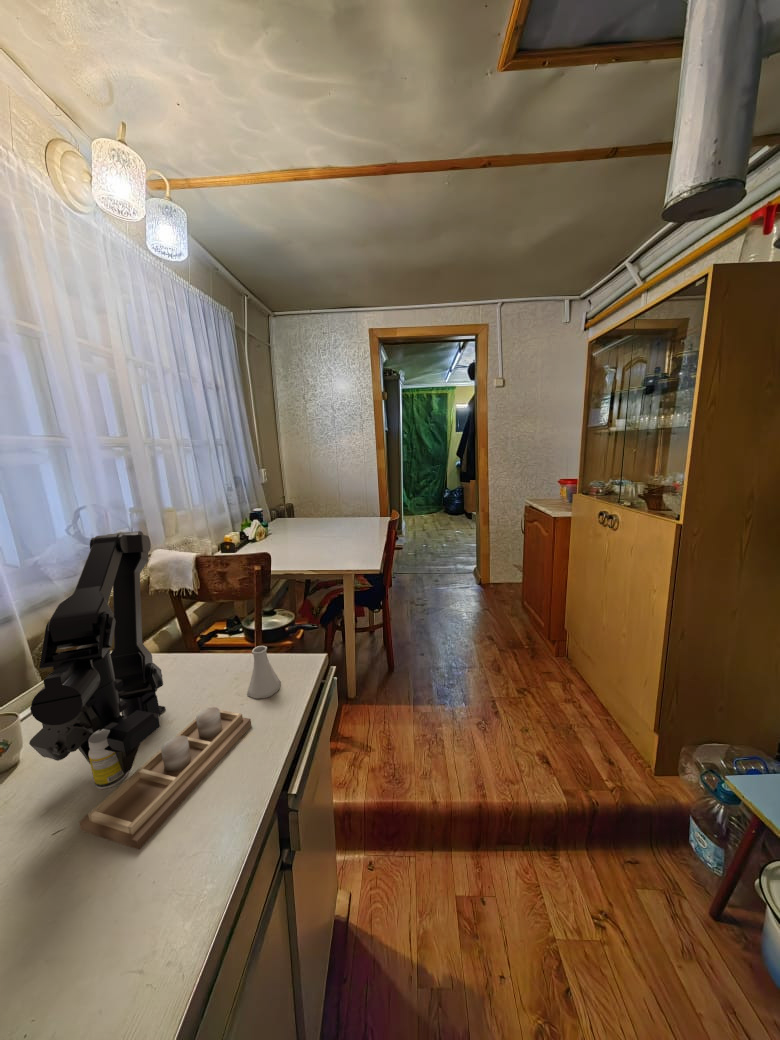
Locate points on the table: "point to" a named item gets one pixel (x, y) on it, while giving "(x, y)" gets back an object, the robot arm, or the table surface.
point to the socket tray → (165, 779)
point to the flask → (262, 675)
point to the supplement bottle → (104, 761)
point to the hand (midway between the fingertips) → (110, 767)
